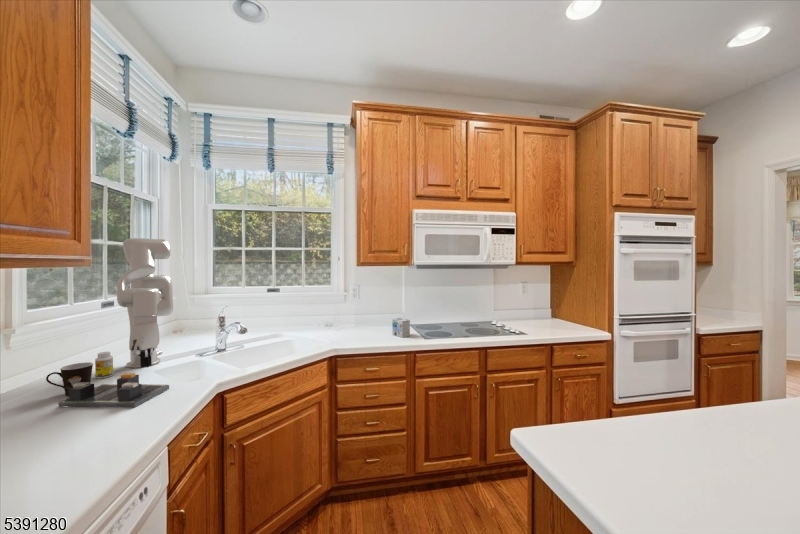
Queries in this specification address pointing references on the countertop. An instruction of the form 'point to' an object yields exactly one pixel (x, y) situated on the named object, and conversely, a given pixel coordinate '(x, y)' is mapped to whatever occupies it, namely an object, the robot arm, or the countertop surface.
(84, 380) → the coffee mug
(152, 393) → the panel
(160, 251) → the robot arm
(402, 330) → the light bulb box
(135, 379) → the block
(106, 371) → the supplement bottle
